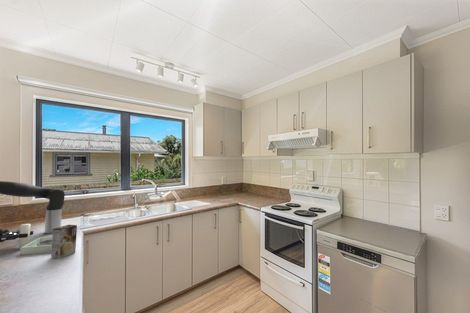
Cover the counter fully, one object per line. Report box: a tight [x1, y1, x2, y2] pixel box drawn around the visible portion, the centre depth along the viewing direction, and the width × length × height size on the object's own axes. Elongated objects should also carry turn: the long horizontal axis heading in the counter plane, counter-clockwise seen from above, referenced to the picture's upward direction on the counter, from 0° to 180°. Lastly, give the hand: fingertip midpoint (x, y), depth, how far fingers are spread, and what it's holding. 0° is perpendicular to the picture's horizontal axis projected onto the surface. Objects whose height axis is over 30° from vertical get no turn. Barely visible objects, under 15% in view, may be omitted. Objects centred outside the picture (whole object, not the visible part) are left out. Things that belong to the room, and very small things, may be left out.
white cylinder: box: [18, 223, 32, 250], centre depth 125 cm, size 4×4×14 cm
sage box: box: [19, 235, 53, 255], centre depth 126 cm, size 18×16×4 cm
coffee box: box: [50, 224, 78, 260], centre depth 116 cm, size 9×6×16 cm
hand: (30, 234), depth 126 cm, fingers closed on white cylinder, 4 cm apart
